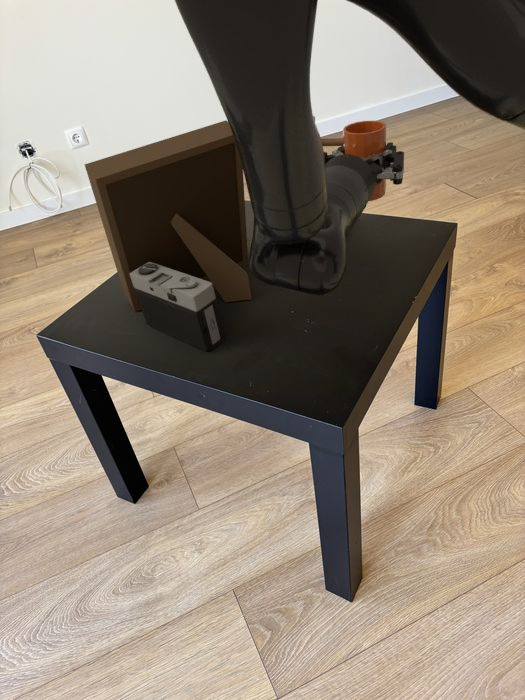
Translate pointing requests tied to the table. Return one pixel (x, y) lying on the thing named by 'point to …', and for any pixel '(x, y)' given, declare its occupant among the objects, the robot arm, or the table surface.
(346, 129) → the mug
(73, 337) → the table surface
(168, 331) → the camera
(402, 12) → the robot arm
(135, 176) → the photo frame
